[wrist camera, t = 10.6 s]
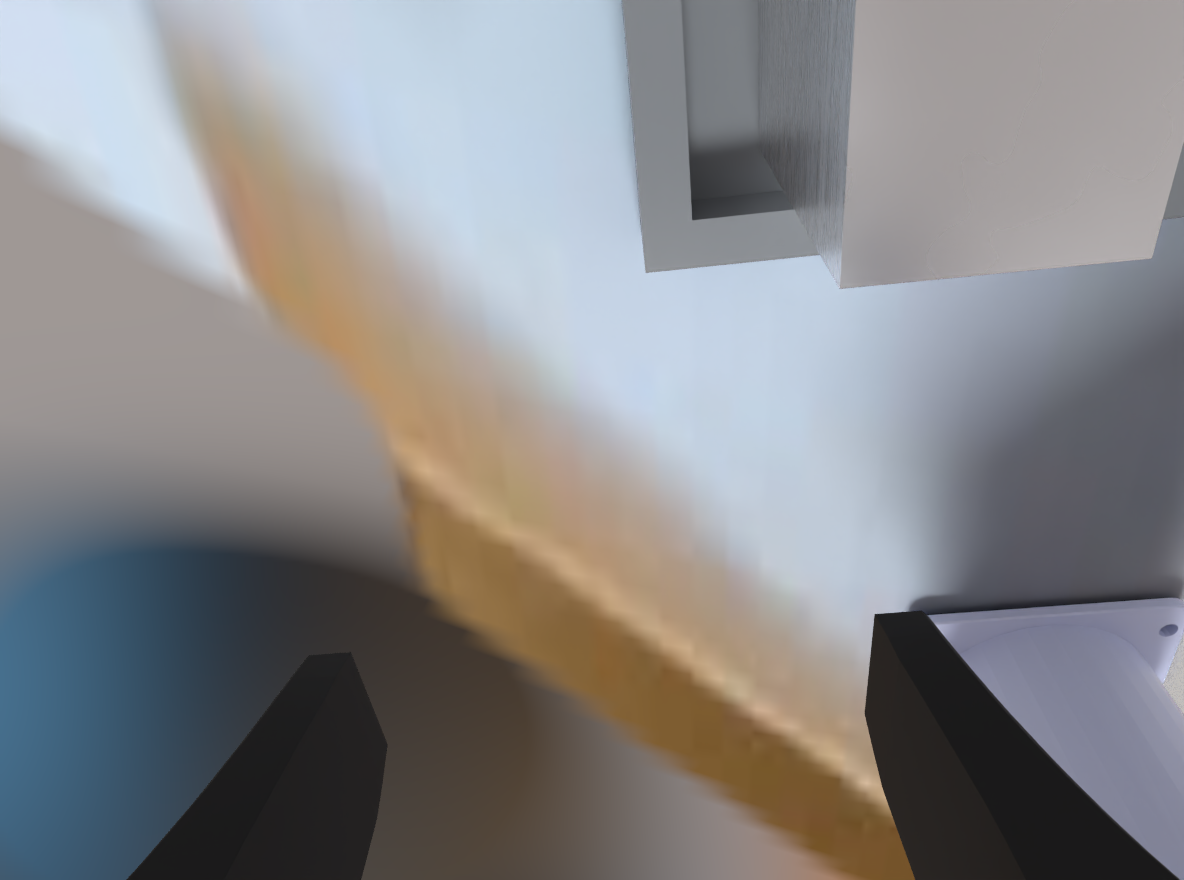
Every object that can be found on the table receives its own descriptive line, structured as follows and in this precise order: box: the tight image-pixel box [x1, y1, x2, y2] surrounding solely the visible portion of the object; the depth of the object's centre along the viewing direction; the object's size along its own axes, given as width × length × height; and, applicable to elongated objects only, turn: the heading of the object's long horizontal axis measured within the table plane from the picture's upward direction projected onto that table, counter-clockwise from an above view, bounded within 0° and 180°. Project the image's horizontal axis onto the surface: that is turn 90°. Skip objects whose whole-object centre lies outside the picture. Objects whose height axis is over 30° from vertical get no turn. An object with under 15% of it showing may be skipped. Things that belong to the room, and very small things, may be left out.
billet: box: [759, 0, 1184, 289], centre depth 13 cm, size 5×4×7 cm
